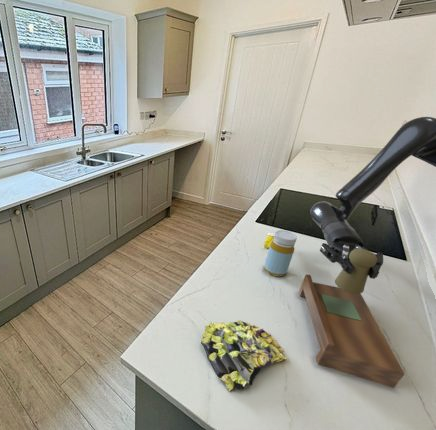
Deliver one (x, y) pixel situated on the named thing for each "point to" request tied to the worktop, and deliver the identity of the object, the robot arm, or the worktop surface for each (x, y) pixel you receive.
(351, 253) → the olive knobbed peg
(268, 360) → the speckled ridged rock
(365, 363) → the shelf
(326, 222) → the robot arm
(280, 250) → the bottle
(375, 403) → the worktop surface
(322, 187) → the worktop surface
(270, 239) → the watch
